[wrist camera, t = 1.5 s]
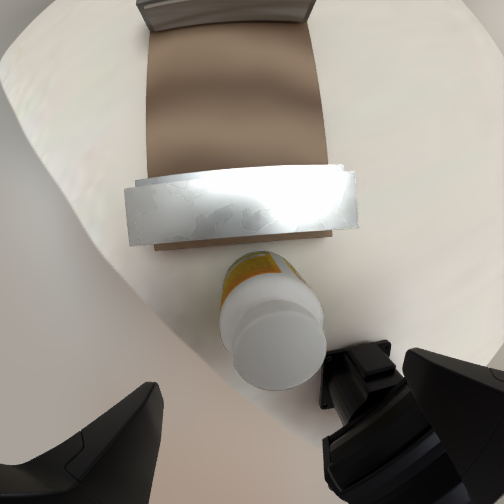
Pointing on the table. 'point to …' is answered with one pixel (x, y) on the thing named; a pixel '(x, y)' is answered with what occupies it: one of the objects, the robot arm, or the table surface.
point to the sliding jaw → (240, 203)
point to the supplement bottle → (271, 322)
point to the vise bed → (231, 92)
